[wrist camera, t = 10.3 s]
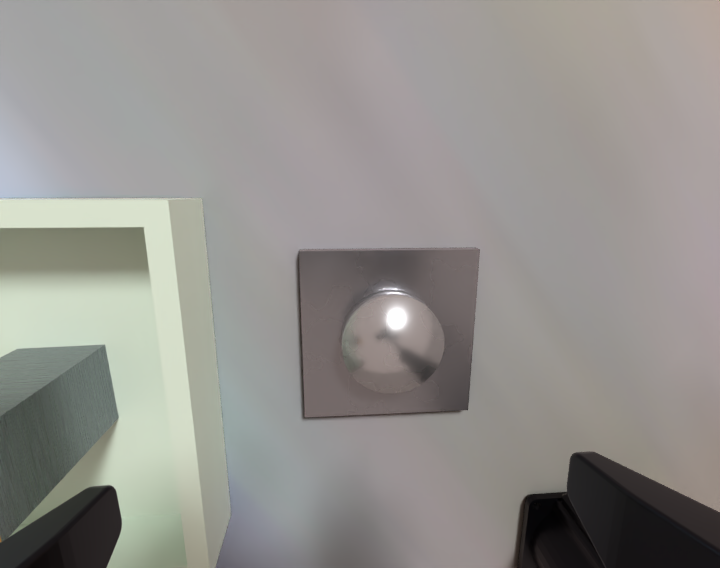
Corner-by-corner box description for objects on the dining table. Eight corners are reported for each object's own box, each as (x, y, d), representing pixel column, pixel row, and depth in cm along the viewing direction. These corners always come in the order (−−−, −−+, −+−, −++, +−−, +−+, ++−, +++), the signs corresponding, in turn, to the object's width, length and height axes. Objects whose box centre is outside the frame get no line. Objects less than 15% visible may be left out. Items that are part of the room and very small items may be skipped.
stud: (464, 404, 22) (477, 424, 20) (305, 411, 21) (303, 433, 19) (475, 247, 20) (491, 253, 18) (299, 249, 19) (296, 256, 17)
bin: (231, 514, 22) (211, 581, 19) (-27, 530, 21) (-106, 606, 17) (201, 198, 18) (168, 199, 14) (-122, 198, 17) (-253, 200, 13)
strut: (105, 343, 19) (-55, 453, 11) (120, 418, 20) (-18, 569, 12) (16, 347, 18) (-217, 464, 11) (35, 423, 19) (-165, 582, 12)
